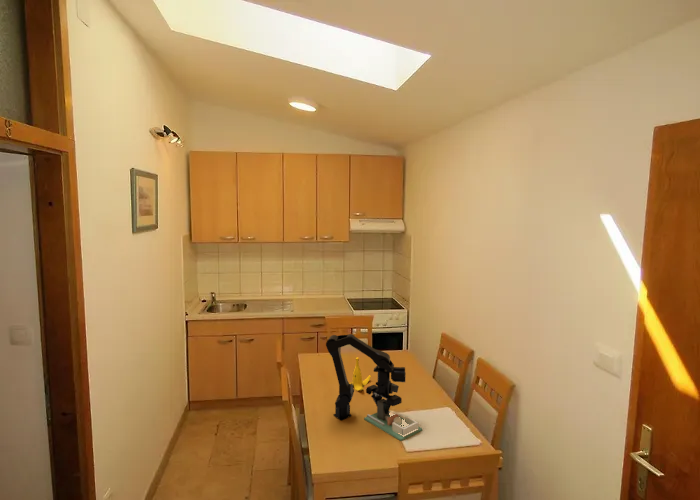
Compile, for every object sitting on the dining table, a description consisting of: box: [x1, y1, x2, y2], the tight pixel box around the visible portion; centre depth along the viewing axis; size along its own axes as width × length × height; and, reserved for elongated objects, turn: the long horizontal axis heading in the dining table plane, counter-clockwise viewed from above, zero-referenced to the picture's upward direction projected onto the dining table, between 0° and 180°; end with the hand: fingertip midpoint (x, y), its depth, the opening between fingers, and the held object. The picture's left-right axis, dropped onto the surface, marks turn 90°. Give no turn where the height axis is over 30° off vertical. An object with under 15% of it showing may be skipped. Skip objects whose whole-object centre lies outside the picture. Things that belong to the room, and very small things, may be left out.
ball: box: [393, 417, 402, 425], centre depth 190 cm, size 4×4×4 cm
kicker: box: [376, 398, 399, 425], centre depth 195 cm, size 6×9×8 cm, turn 39°
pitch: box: [363, 410, 423, 442], centre depth 193 cm, size 14×24×4 cm, turn 39°
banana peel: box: [349, 357, 372, 392], centre depth 236 cm, size 16×19×17 cm
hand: (383, 412), depth 197 cm, fingers closed on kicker, 4 cm apart
